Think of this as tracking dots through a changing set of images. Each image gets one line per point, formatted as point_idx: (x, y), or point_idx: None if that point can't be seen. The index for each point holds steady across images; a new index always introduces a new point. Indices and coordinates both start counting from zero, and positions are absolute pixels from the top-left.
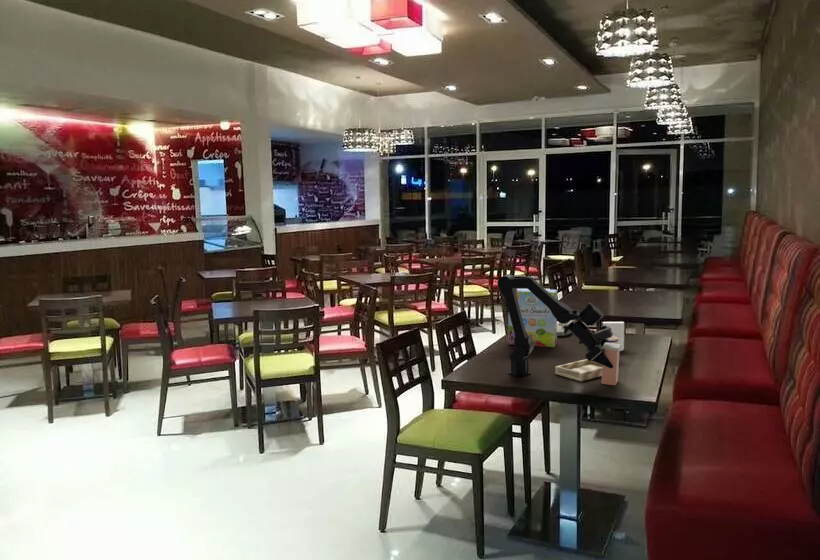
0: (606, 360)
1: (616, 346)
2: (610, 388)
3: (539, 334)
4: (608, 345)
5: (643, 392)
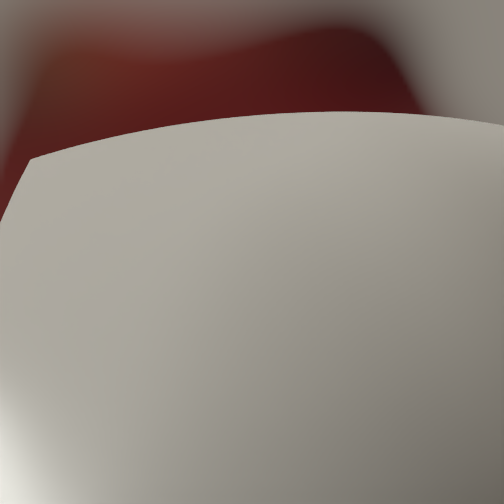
0: None
1: (408, 165)
2: None
3: None
4: (489, 467)
5: None
